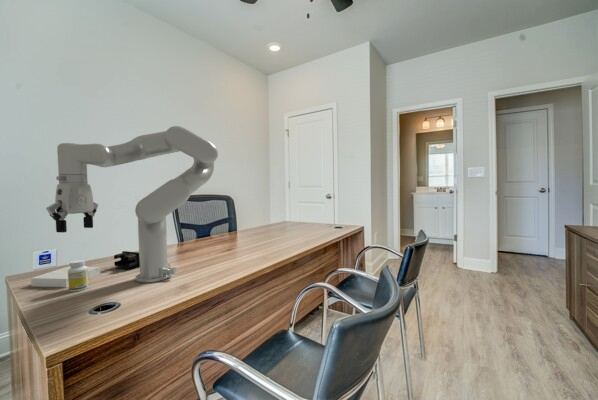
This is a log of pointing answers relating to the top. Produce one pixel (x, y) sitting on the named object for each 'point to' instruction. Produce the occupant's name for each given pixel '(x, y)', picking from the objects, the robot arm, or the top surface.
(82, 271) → the supplement bottle
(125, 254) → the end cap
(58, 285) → the base plate
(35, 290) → the top surface
